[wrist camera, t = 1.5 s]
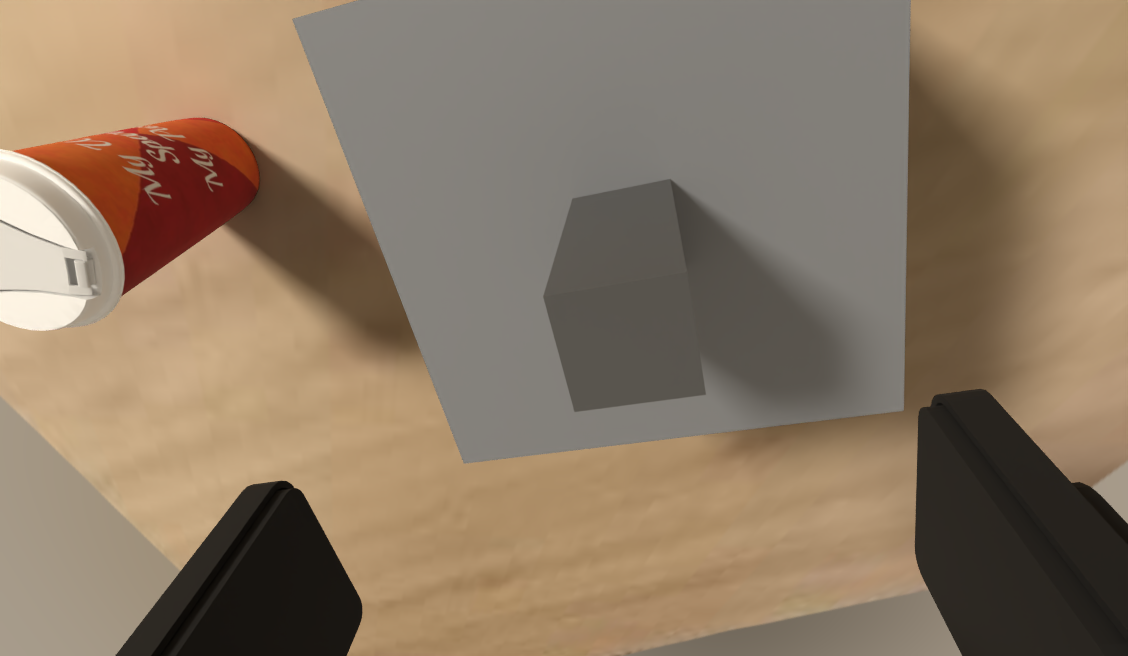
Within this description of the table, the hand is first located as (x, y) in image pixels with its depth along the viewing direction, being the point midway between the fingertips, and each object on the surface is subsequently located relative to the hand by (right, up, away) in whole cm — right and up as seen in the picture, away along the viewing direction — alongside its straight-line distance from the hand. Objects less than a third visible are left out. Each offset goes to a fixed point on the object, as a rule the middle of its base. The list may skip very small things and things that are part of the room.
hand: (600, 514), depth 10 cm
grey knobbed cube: (+3, +14, +26) cm, 30 cm away
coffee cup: (-23, +13, +30) cm, 40 cm away
